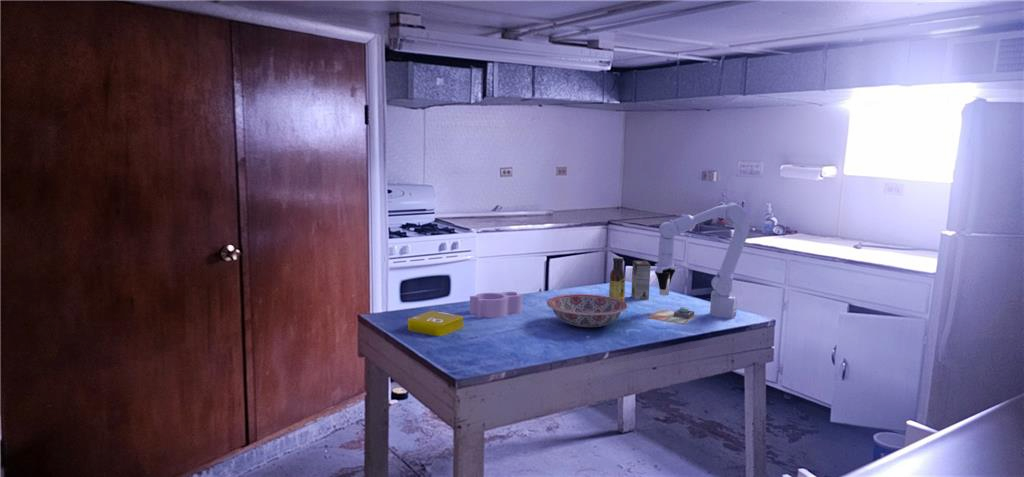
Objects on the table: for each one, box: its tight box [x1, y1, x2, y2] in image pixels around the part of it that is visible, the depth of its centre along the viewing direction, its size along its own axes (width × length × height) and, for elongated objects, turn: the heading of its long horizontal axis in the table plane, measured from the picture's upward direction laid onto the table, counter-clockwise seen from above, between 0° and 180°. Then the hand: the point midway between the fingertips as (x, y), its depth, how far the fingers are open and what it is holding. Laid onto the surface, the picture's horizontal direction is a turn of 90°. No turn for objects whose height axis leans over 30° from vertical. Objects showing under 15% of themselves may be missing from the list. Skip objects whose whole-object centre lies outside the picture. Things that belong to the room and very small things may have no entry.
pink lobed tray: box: [469, 291, 523, 319], centre depth 255 cm, size 20×12×7 cm, turn 120°
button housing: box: [674, 308, 695, 319], centre depth 251 cm, size 6×6×2 cm
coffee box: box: [630, 260, 652, 301], centre depth 280 cm, size 9×6×16 cm
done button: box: [679, 306, 690, 314], centre depth 251 cm, size 3×3×2 cm
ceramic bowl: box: [546, 293, 628, 328], centre depth 240 cm, size 29×29×8 cm
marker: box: [658, 275, 671, 296], centre depth 255 cm, size 4×4×8 cm
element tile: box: [407, 310, 464, 337], centre depth 233 cm, size 15×15×5 cm
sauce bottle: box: [608, 256, 626, 302], centre depth 268 cm, size 6×6×20 cm
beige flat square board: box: [645, 308, 698, 326], centre depth 250 cm, size 15×16×1 cm
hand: (664, 288), depth 255 cm, fingers closed on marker, 4 cm apart
